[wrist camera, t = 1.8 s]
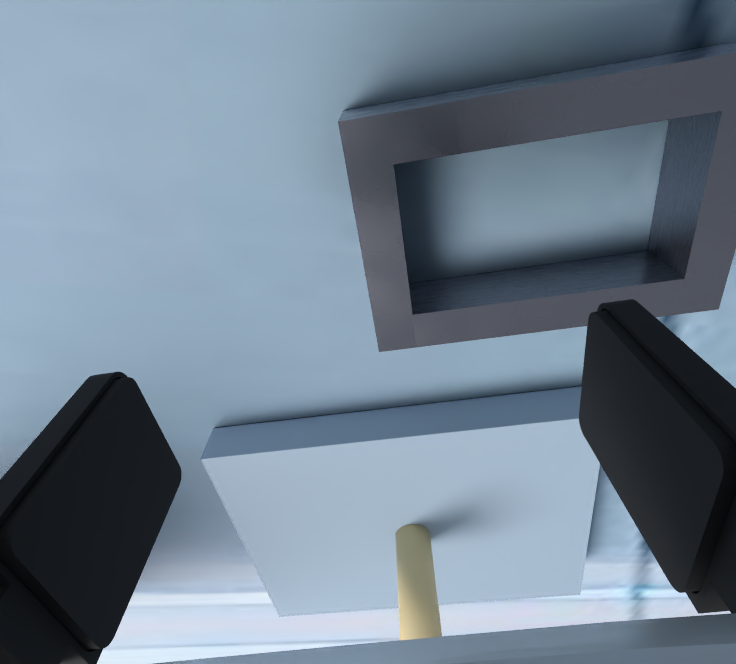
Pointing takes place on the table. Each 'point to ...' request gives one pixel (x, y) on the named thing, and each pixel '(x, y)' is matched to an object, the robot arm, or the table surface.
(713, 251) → the steel link
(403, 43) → the table surface
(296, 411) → the table surface
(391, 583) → the board
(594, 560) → the table surface
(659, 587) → the table surface
